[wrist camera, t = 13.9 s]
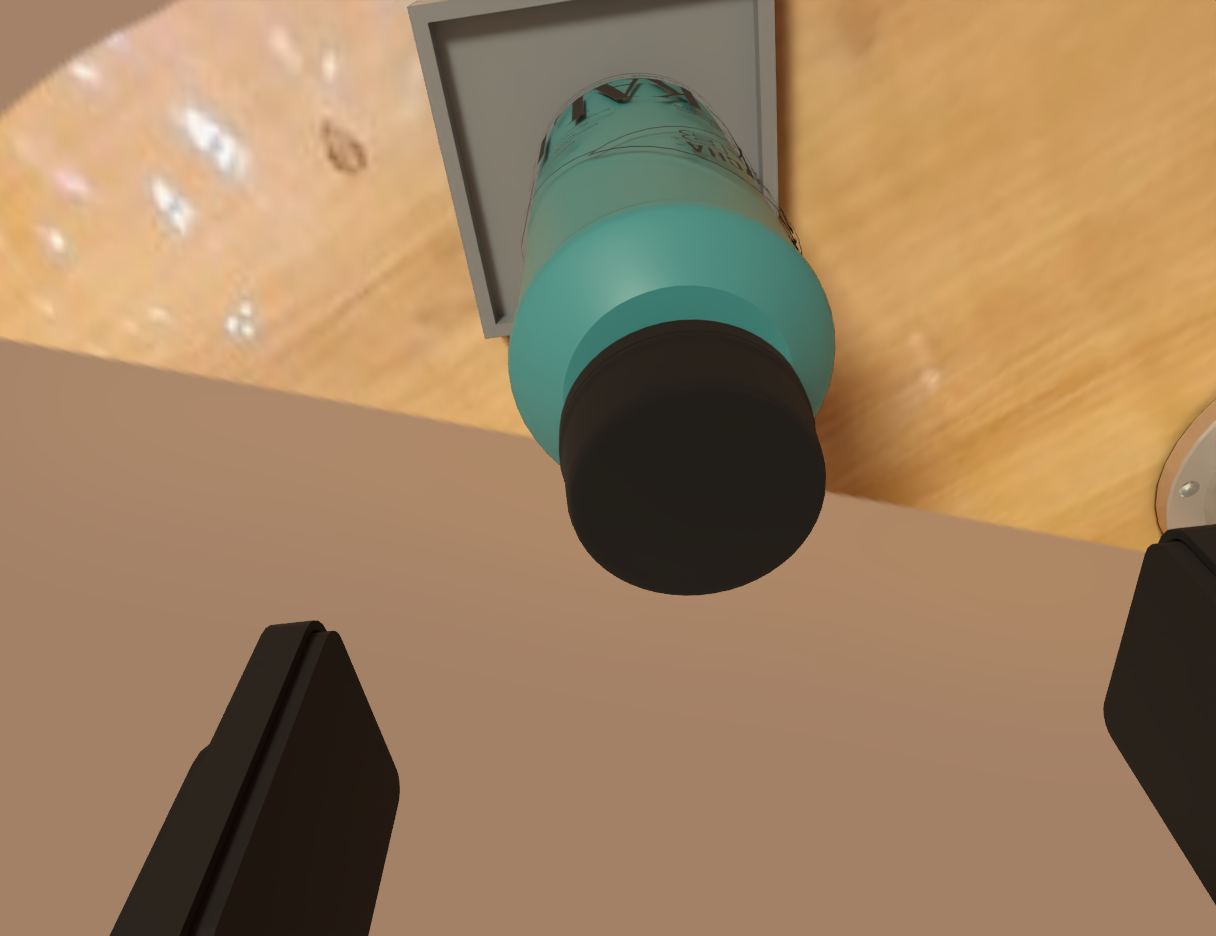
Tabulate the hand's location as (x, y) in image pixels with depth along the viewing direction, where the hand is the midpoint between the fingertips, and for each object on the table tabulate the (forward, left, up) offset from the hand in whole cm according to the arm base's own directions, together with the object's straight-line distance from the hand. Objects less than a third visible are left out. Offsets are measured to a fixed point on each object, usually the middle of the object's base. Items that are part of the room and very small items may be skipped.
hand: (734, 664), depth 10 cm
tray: (+1, 0, -24) cm, 24 cm away
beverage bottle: (0, 0, -23) cm, 23 cm away
